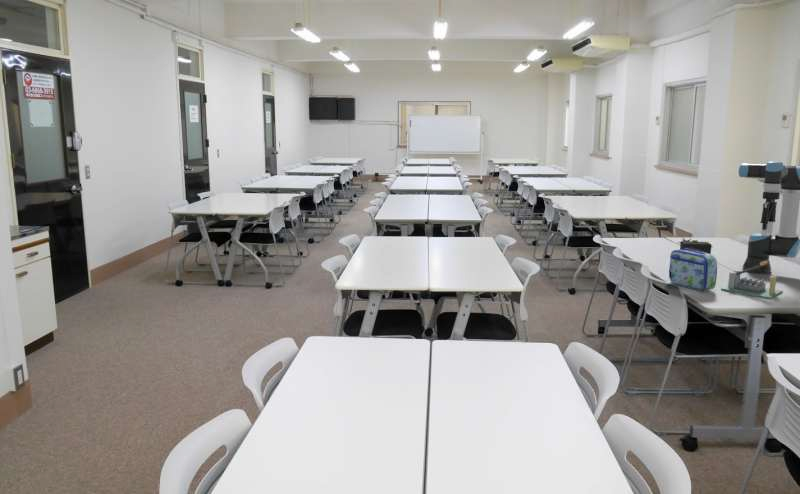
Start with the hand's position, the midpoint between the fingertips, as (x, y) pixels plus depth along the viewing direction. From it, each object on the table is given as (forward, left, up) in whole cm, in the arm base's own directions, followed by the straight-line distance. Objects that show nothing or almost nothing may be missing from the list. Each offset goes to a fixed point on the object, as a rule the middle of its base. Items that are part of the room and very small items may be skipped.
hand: (766, 234), depth 317 cm
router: (-15, -42, -31) cm, 54 cm away
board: (+4, -3, -31) cm, 31 cm away
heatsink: (+4, -4, -31) cm, 31 cm away
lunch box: (+18, -30, -31) cm, 47 cm away
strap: (+4, -4, -19) cm, 20 cm away
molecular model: (-50, -61, -31) cm, 85 cm away
